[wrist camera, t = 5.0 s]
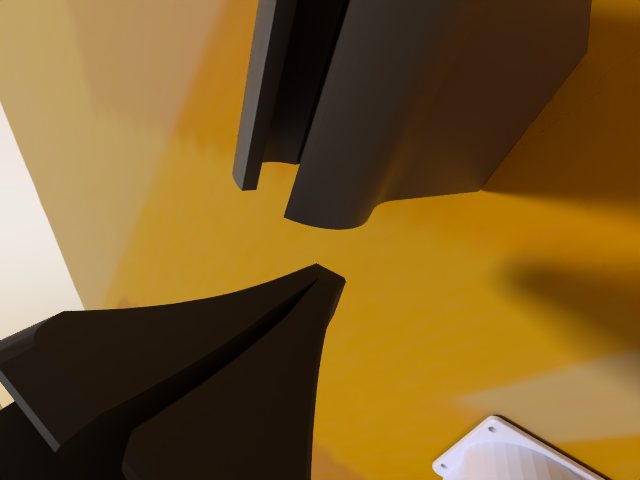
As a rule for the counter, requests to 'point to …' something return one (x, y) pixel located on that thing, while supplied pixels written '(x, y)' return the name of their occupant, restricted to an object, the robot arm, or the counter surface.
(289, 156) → the door stopper
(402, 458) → the counter surface
